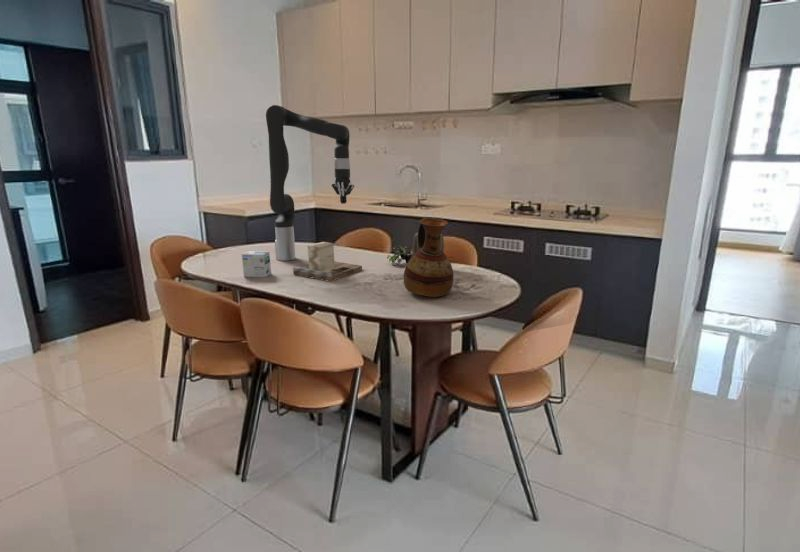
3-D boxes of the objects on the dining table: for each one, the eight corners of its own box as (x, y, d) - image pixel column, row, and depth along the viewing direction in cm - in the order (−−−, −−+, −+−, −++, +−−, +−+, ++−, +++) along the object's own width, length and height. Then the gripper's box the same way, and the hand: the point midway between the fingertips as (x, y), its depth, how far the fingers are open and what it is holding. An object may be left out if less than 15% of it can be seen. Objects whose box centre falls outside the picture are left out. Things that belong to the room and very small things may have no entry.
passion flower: (407, 274, 234) (420, 256, 229) (395, 275, 225) (409, 256, 220) (392, 259, 238) (405, 241, 233) (380, 259, 229) (394, 240, 224)
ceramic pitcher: (416, 303, 173) (417, 223, 165) (395, 289, 191) (395, 216, 183) (462, 297, 181) (464, 220, 173) (437, 283, 199) (439, 213, 191)
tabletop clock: (443, 268, 224) (444, 216, 217) (442, 273, 215) (444, 219, 208) (413, 267, 225) (413, 215, 219) (411, 272, 217) (411, 218, 210)
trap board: (293, 274, 214) (293, 267, 213) (326, 263, 232) (326, 257, 231) (330, 281, 202) (330, 273, 201) (362, 269, 221) (361, 262, 220)
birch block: (309, 271, 211) (307, 245, 208) (323, 266, 219) (322, 241, 216) (320, 273, 208) (318, 247, 204) (334, 268, 216) (333, 243, 212)
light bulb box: (271, 273, 215) (269, 250, 212) (266, 277, 209) (264, 254, 206) (249, 273, 216) (247, 250, 213) (243, 277, 210) (241, 253, 207)
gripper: (326, 167, 228) (328, 203, 233) (348, 168, 221) (349, 205, 226) (336, 167, 234) (338, 201, 239) (357, 167, 228) (358, 203, 232)
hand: (343, 203), depth 232 cm, fingers closed
